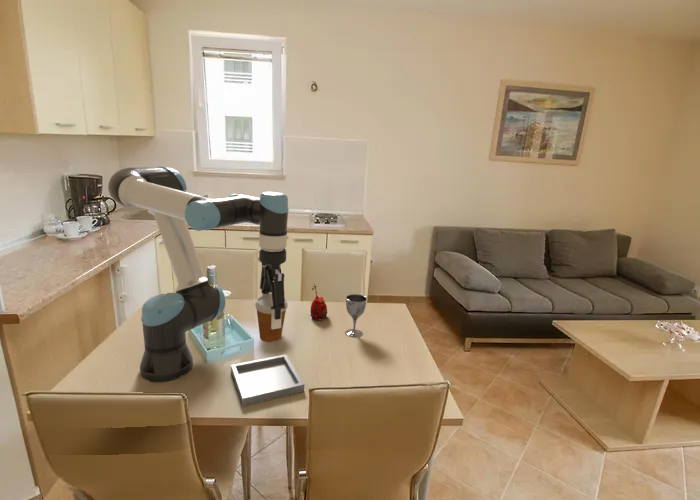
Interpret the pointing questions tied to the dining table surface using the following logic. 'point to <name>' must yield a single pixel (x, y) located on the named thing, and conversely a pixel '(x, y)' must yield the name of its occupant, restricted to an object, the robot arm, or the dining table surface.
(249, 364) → the tray
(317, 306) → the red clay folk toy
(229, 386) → the dining table surface
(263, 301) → the disposable coffee cup
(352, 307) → the wine glass
